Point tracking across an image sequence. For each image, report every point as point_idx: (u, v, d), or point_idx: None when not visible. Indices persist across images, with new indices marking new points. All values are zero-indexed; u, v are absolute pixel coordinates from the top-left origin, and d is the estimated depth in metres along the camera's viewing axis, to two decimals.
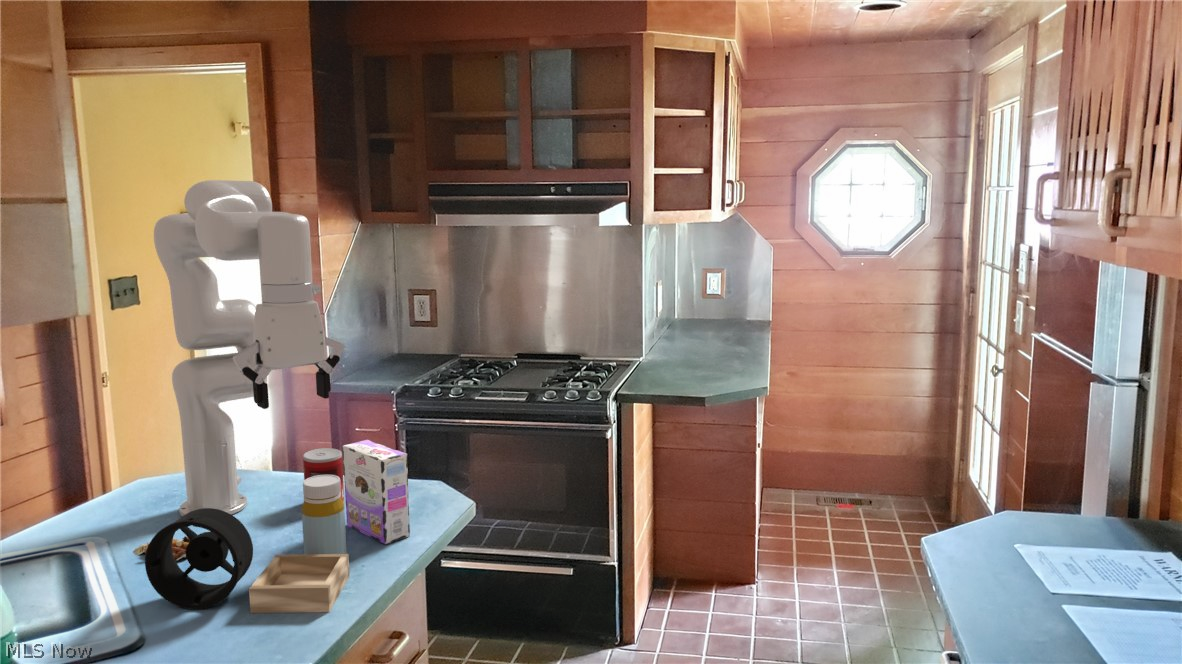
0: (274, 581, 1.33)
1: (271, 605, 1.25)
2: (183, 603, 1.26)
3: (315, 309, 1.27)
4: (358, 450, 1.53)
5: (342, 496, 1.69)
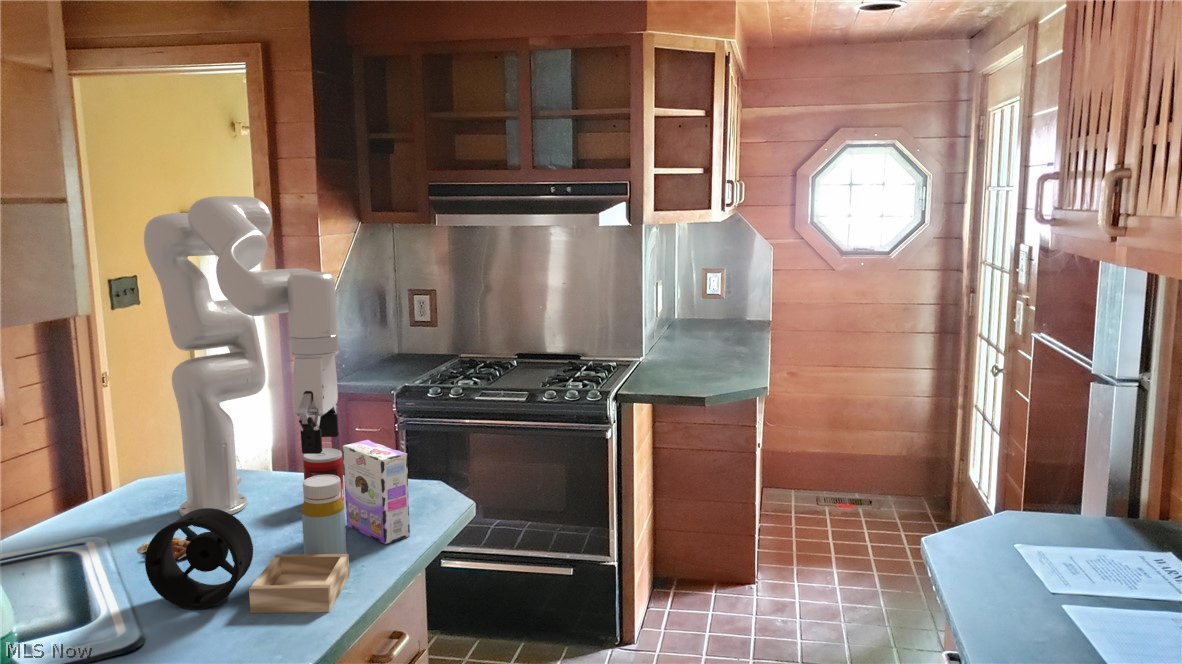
0: (274, 581, 1.33)
1: (271, 605, 1.25)
2: (183, 603, 1.26)
3: None
4: (358, 450, 1.53)
5: (342, 496, 1.69)
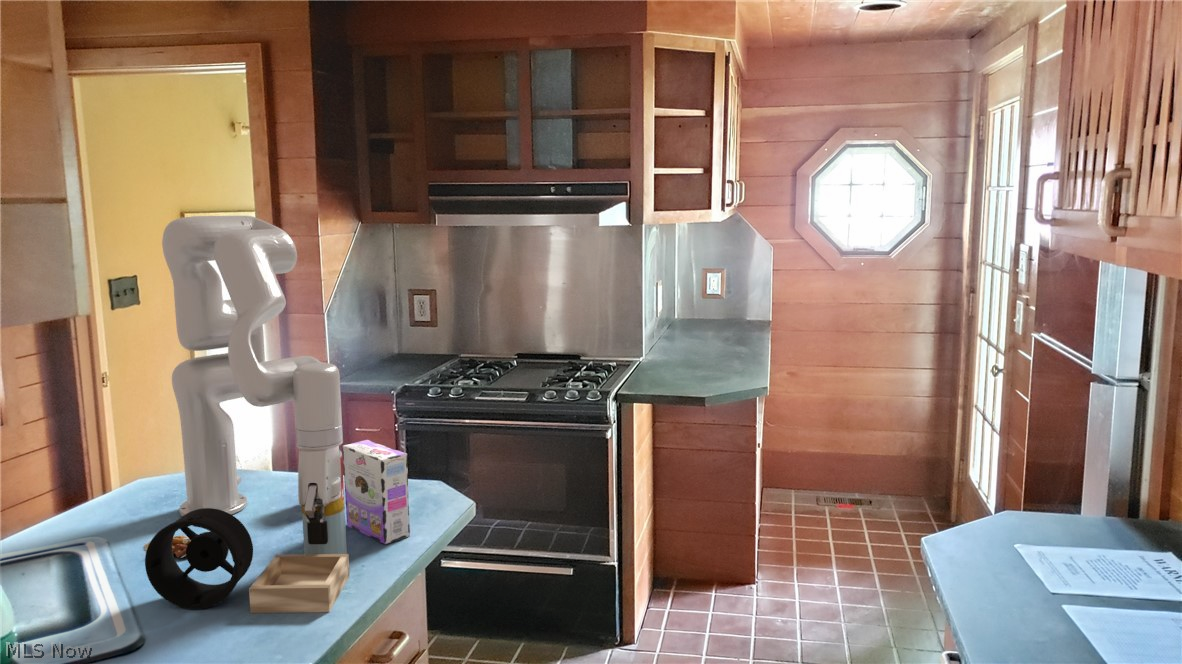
0: (274, 581, 1.33)
1: (271, 605, 1.25)
2: (183, 603, 1.26)
3: None
4: (358, 450, 1.53)
5: (342, 496, 1.69)
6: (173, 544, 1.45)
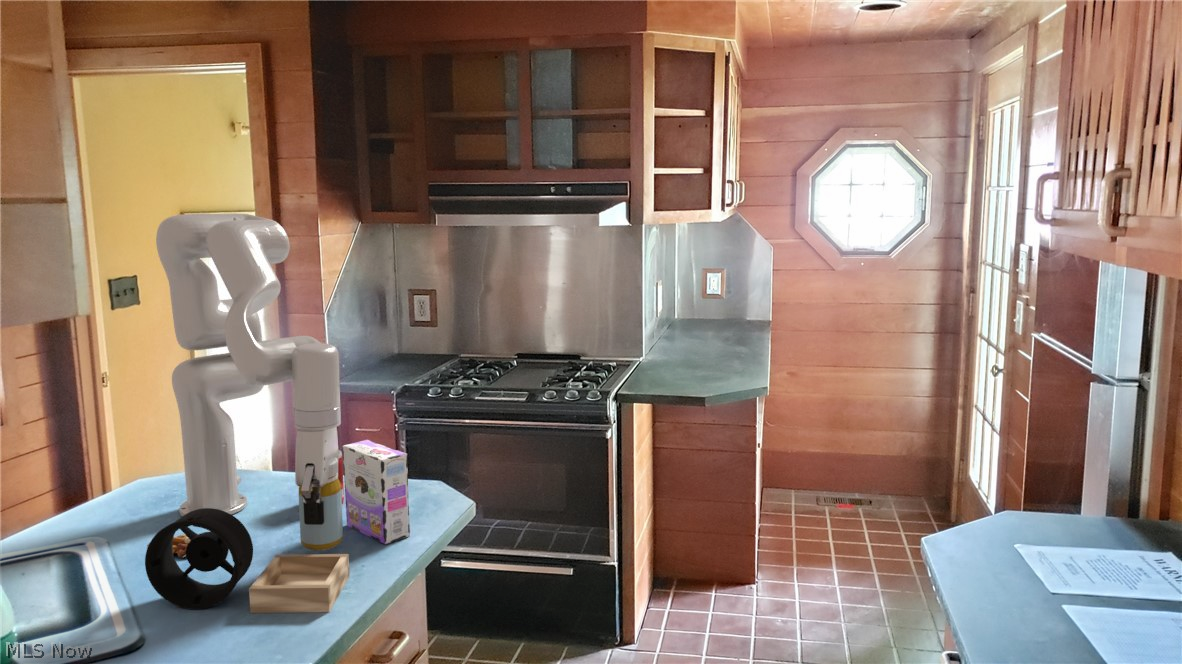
0: (274, 581, 1.33)
1: (271, 605, 1.25)
2: (183, 603, 1.26)
3: None
4: (358, 450, 1.53)
5: (342, 496, 1.69)
6: (175, 543, 1.46)
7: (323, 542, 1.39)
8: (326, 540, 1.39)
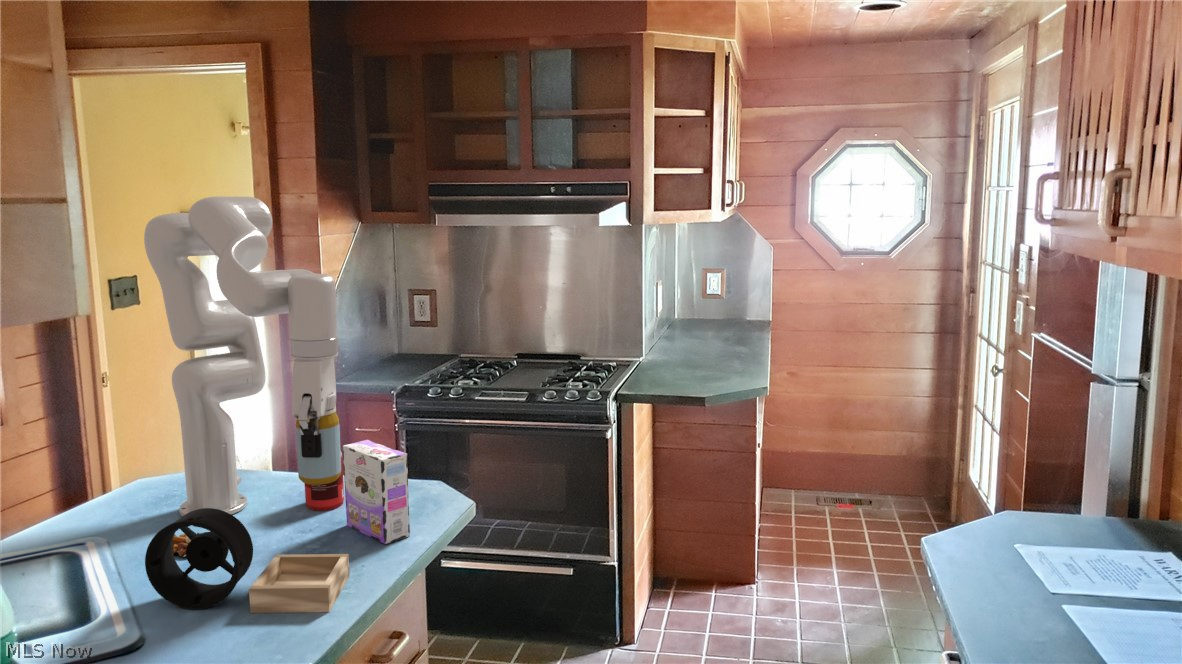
0: (274, 581, 1.33)
1: (271, 605, 1.25)
2: (183, 603, 1.26)
3: (333, 357, 1.40)
4: (358, 449, 1.53)
5: (342, 496, 1.69)
6: (177, 543, 1.46)
7: (321, 476, 1.37)
8: (324, 474, 1.37)
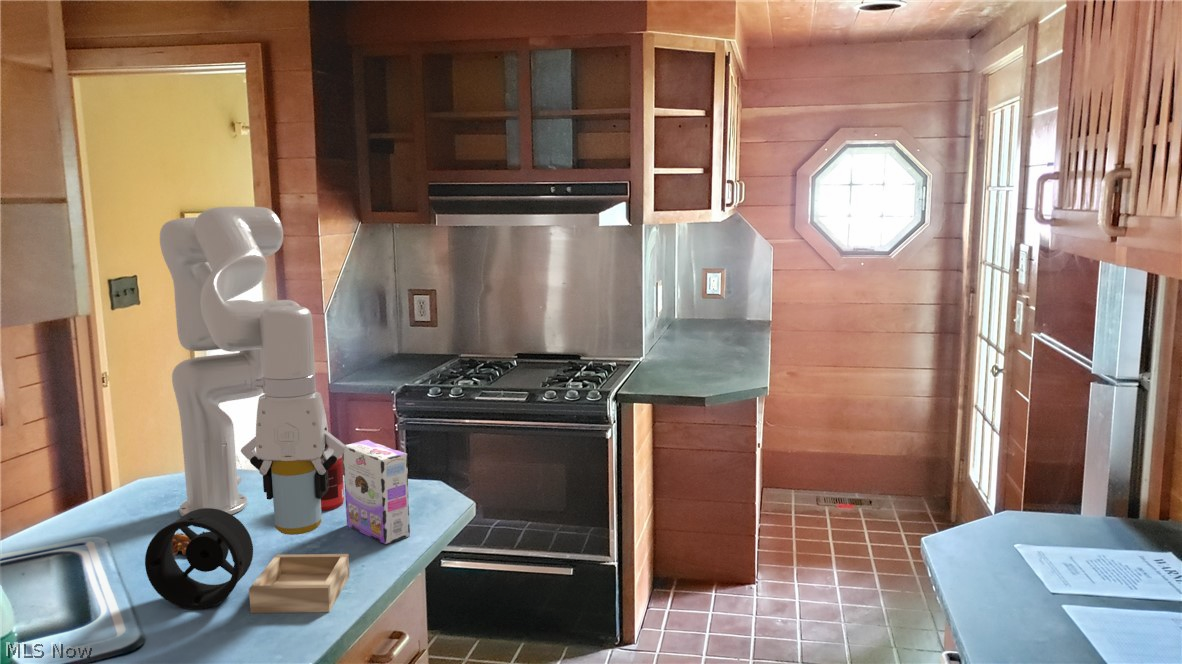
0: (274, 581, 1.33)
1: (271, 605, 1.25)
2: (183, 603, 1.26)
3: None
4: (358, 450, 1.53)
5: (342, 496, 1.69)
6: (181, 541, 1.47)
7: (321, 514, 1.30)
8: None
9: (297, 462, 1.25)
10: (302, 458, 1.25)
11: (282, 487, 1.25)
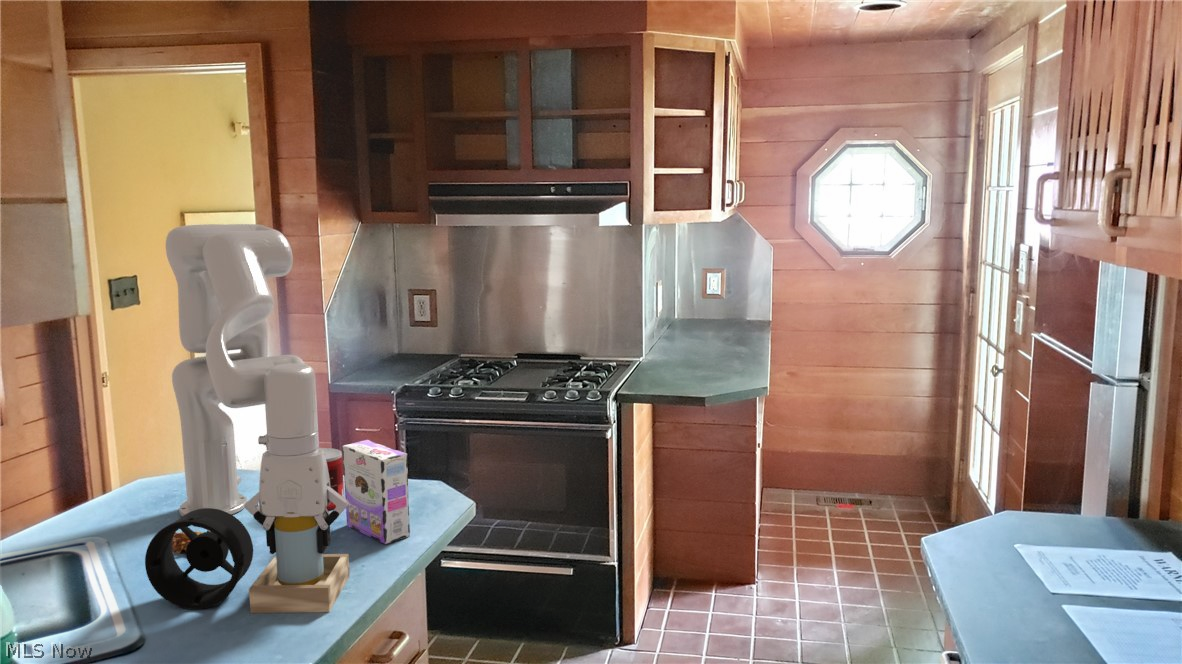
0: (274, 581, 1.33)
1: (271, 605, 1.25)
2: (183, 603, 1.26)
3: None
4: (358, 450, 1.53)
5: (342, 496, 1.69)
6: (185, 540, 1.47)
7: None
8: None
9: (300, 518, 1.27)
10: (305, 514, 1.26)
11: (285, 543, 1.26)
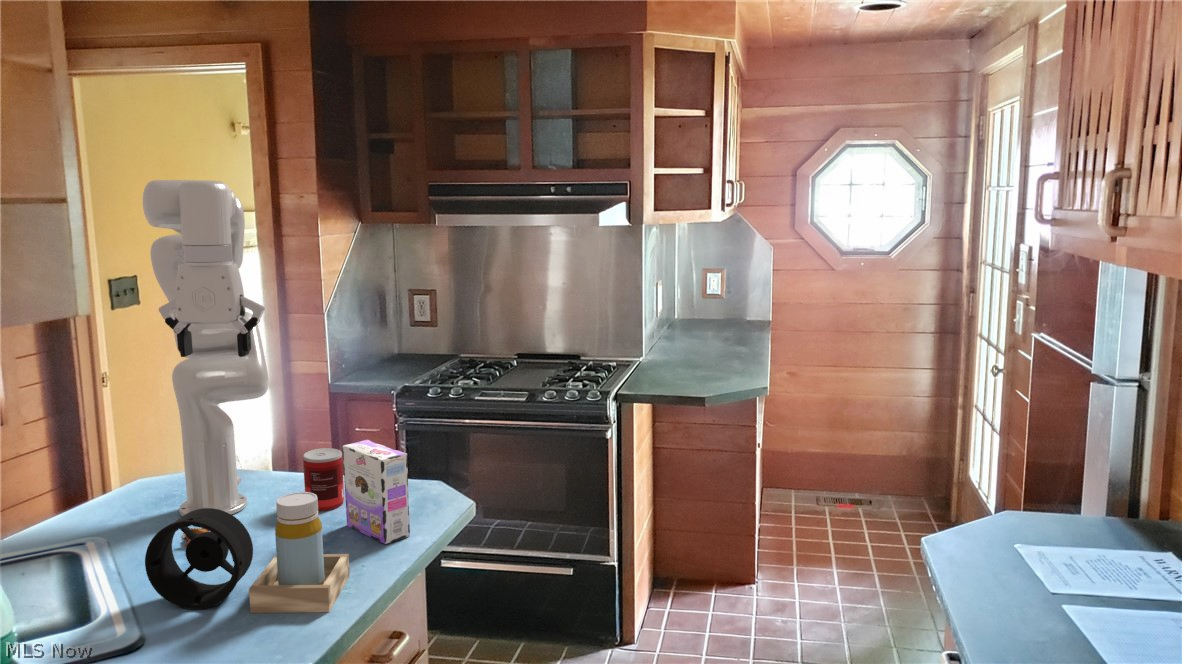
0: (274, 581, 1.33)
1: (271, 605, 1.25)
2: (183, 603, 1.26)
3: None
4: (358, 450, 1.53)
5: (342, 496, 1.69)
6: None
7: None
8: None
9: (301, 525, 1.27)
10: (218, 320, 1.36)
11: (286, 550, 1.27)
